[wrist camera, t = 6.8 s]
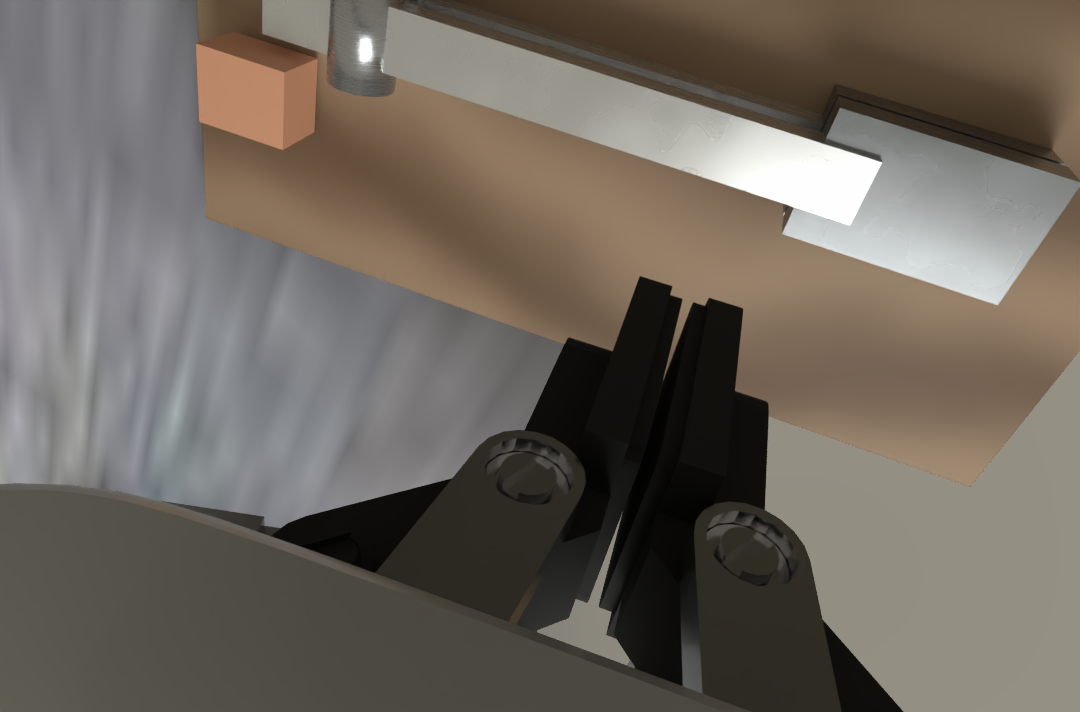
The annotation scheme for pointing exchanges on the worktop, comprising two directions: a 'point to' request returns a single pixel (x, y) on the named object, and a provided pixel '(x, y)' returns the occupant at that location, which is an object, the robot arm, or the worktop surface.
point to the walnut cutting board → (701, 208)
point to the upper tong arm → (739, 145)
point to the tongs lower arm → (623, 68)
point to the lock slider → (256, 89)
